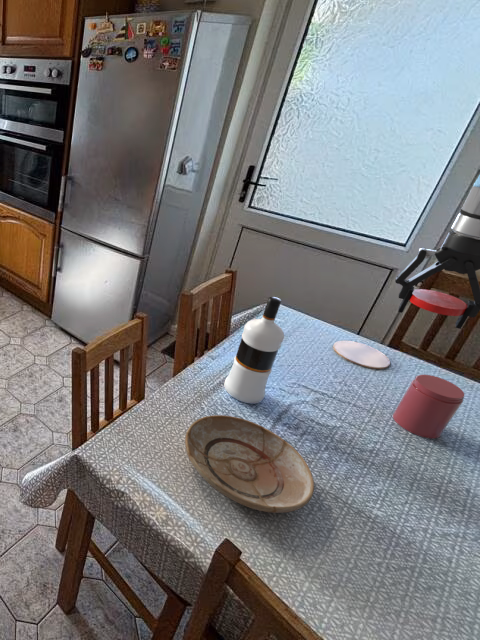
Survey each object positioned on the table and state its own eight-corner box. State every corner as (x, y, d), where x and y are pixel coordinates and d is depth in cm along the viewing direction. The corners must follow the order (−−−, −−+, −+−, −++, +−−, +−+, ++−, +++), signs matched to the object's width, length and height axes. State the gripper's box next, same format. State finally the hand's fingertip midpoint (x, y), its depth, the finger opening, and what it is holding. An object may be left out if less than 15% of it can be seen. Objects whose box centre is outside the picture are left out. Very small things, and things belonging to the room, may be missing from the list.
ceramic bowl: (183, 416, 105) (187, 401, 103) (296, 451, 95) (303, 436, 93) (179, 492, 87) (183, 476, 85) (317, 546, 77) (327, 530, 75)
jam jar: (440, 424, 101) (466, 386, 96) (440, 444, 96) (467, 405, 91) (394, 406, 107) (415, 368, 102) (391, 424, 102) (413, 385, 96)
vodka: (215, 386, 115) (243, 293, 102) (239, 377, 118) (270, 286, 105) (246, 409, 107) (281, 312, 94) (271, 399, 110) (308, 304, 97)
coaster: (391, 354, 125) (392, 353, 125) (387, 375, 117) (388, 373, 117) (336, 336, 134) (337, 335, 134) (329, 354, 126) (330, 353, 126)
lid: (397, 296, 104) (400, 289, 103) (431, 294, 105) (435, 288, 104) (438, 317, 96) (442, 310, 95) (475, 314, 96) (479, 308, 95)
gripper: (550, 242, 87) (494, 329, 97) (407, 218, 102) (370, 296, 111) (557, 253, 83) (497, 343, 92) (405, 226, 97) (367, 307, 107)
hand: (428, 317), depth 102 cm, fingers closed on lid, 9 cm apart
